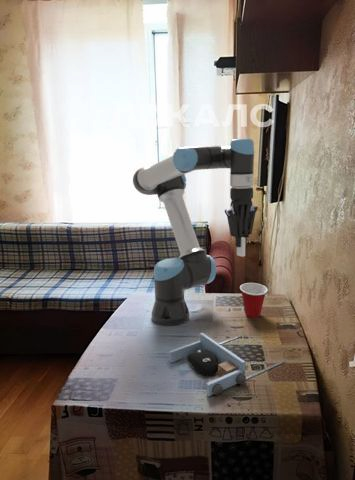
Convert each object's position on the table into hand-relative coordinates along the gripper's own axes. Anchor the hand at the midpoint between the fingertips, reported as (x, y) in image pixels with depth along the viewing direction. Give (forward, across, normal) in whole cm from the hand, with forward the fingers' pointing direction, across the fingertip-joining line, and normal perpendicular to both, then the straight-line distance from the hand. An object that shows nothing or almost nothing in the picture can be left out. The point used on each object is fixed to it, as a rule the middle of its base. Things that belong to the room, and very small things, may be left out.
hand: (240, 255), depth 128 cm
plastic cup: (+30, +14, +8) cm, 34 cm away
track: (+29, -16, -12) cm, 36 cm away
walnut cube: (+30, -21, -18) cm, 41 cm away
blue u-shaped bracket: (+29, -24, -12) cm, 40 cm away
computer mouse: (+30, -23, -10) cm, 39 cm away
